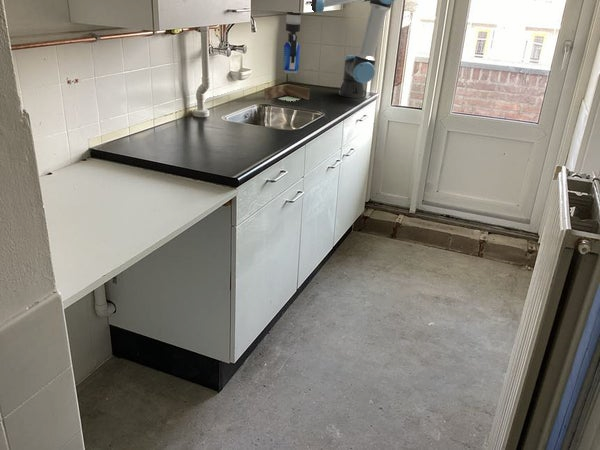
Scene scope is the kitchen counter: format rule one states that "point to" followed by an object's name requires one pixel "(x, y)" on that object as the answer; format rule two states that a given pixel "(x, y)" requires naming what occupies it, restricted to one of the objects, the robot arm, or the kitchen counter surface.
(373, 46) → the robot arm
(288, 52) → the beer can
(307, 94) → the corner walls
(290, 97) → the pad
